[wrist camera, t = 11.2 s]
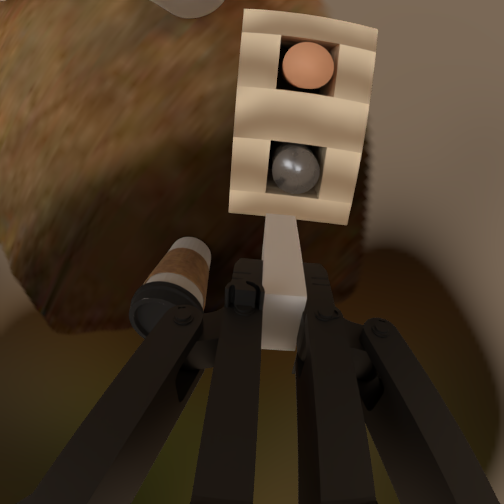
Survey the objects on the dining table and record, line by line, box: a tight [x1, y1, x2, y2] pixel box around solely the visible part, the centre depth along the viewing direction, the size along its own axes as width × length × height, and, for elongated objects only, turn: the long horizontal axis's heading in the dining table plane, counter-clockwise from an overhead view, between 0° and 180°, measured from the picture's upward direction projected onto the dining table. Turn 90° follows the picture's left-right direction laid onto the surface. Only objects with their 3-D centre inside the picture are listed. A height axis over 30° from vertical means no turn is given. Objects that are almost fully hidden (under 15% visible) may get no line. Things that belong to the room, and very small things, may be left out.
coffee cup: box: [129, 237, 211, 339], centre depth 38 cm, size 8×8×15 cm
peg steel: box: [272, 141, 320, 194], centre depth 32 cm, size 4×4×9 cm
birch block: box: [229, 9, 378, 225], centre depth 30 cm, size 20×12×9 cm, turn 175°
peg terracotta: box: [280, 42, 334, 89], centre depth 27 cm, size 4×4×9 cm
